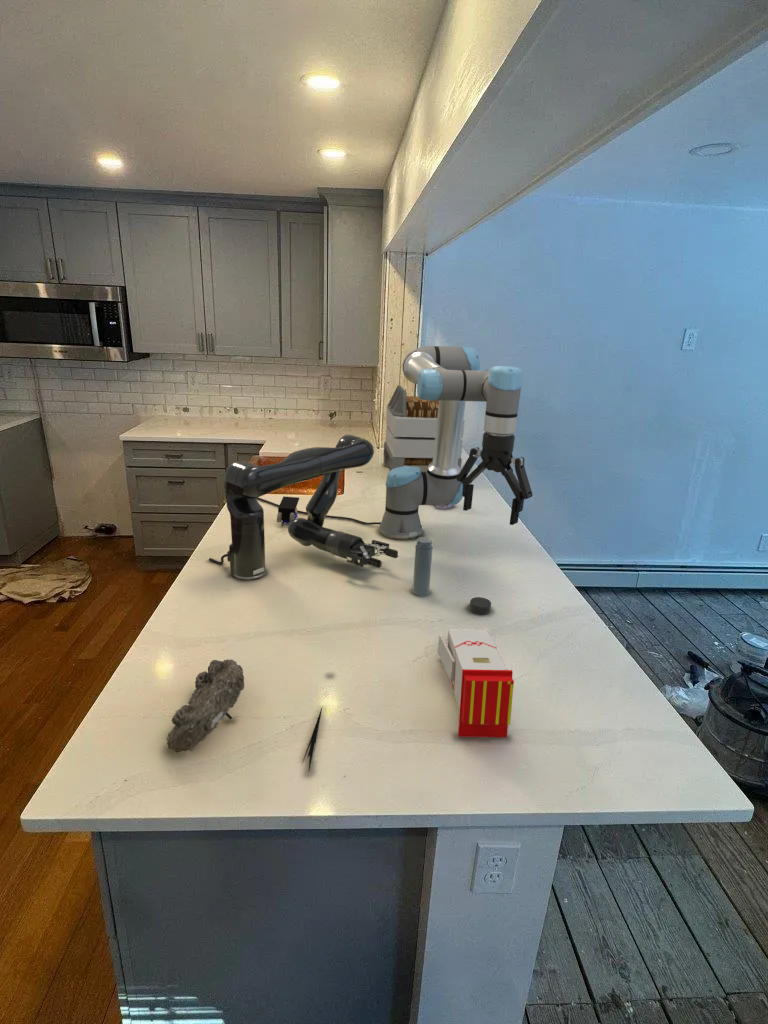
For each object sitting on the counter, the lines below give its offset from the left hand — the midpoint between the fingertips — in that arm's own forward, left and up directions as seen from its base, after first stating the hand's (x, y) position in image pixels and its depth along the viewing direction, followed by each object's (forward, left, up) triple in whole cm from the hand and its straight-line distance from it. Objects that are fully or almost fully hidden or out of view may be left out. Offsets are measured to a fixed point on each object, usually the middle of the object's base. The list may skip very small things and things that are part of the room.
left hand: (389, 559), depth 163 cm
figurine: (+13, +72, -7) cm, 73 cm away
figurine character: (-42, +39, -7) cm, 58 cm away
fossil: (-25, -64, -7) cm, 69 cm away
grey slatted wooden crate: (-2, +118, -7) cm, 118 cm away
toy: (+24, -47, -7) cm, 53 cm away
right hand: (+26, -11, +20) cm, 35 cm away
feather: (-5, -61, -7) cm, 62 cm away
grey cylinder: (+10, -4, -7) cm, 13 cm away
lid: (+26, -11, -5) cm, 29 cm away
